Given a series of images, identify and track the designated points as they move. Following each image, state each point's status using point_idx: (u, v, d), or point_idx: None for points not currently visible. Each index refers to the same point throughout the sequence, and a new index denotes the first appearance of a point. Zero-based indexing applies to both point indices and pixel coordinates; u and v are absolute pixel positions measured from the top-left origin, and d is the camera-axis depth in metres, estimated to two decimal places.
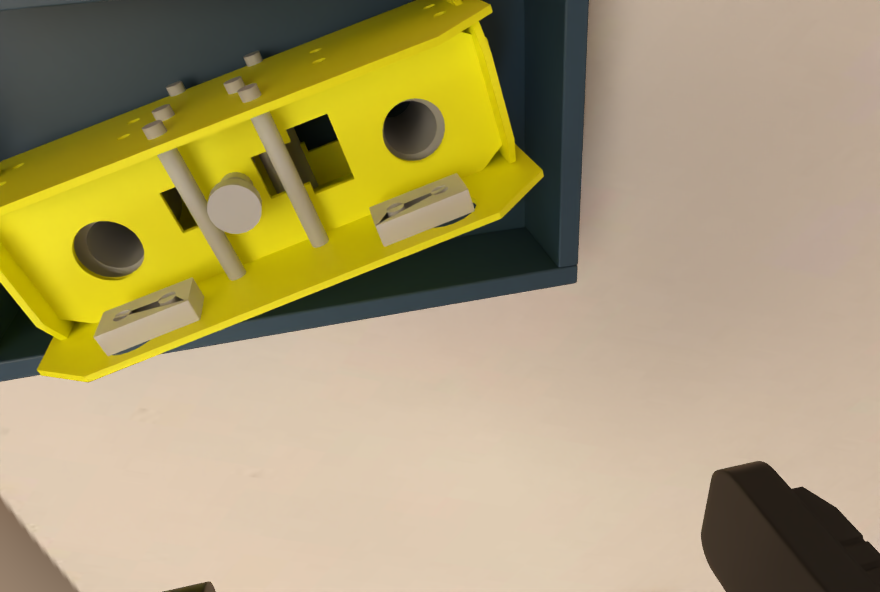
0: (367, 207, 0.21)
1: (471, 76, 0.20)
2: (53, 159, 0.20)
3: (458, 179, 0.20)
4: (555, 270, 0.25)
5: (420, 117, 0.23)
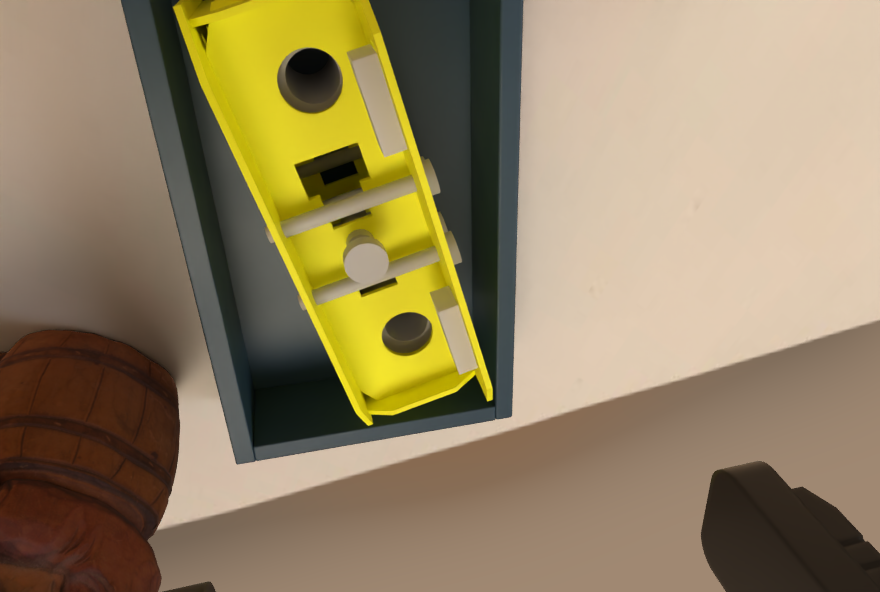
0: None
1: (252, 19, 0.19)
2: None
3: (348, 57, 0.19)
4: None
5: None
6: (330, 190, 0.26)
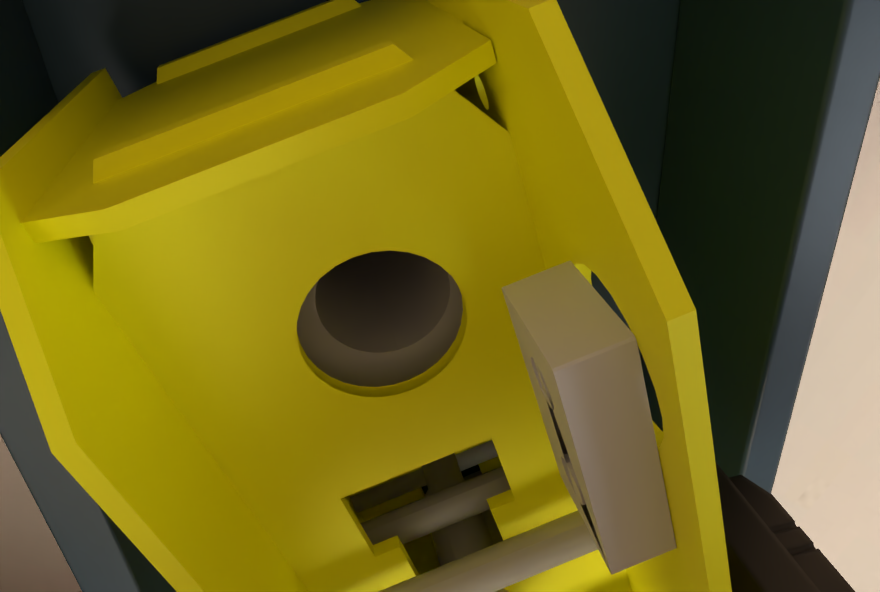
0: None
1: (221, 196, 0.07)
2: None
3: (517, 317, 0.06)
4: None
5: None
6: None
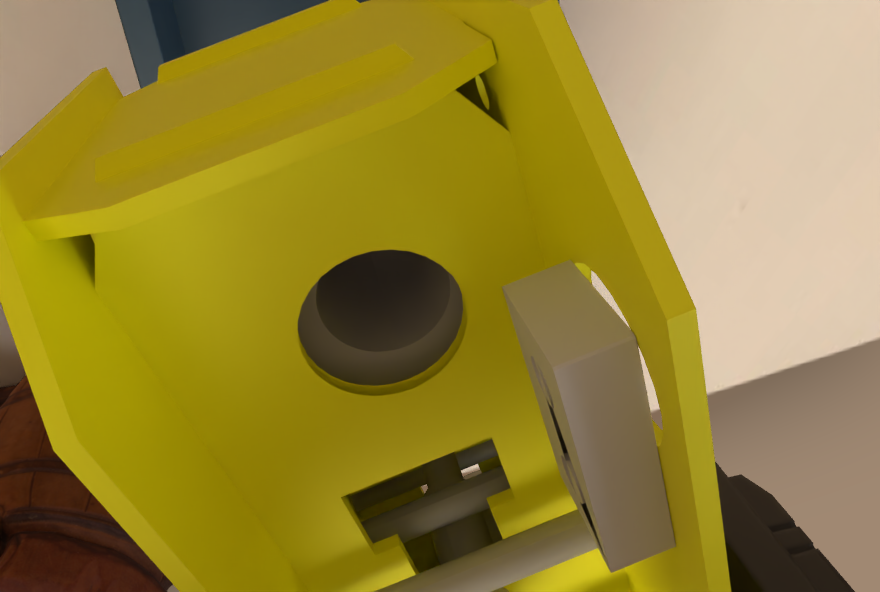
0: None
1: (222, 194, 0.07)
2: None
3: (518, 315, 0.06)
4: None
5: None
6: None
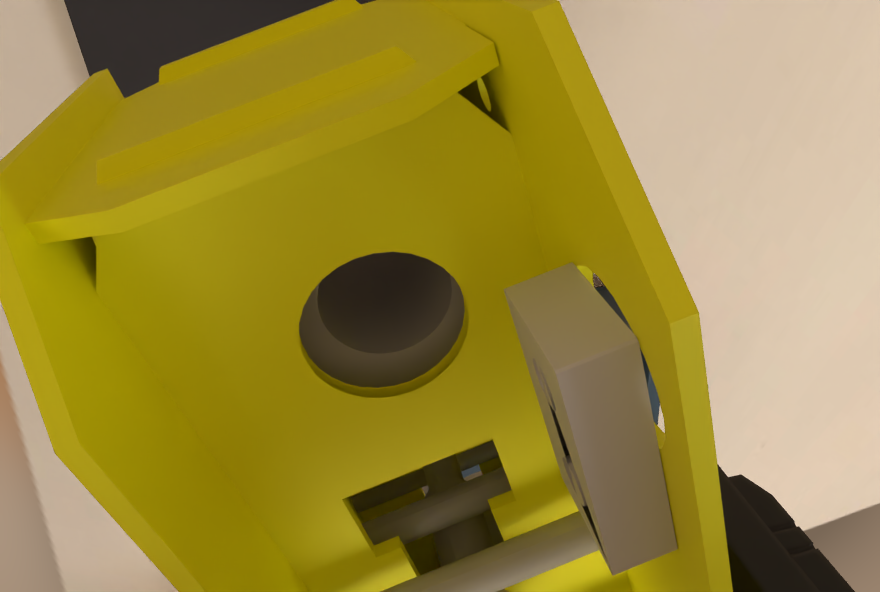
0: None
1: (224, 196, 0.07)
2: None
3: (519, 319, 0.06)
4: None
5: None
6: None
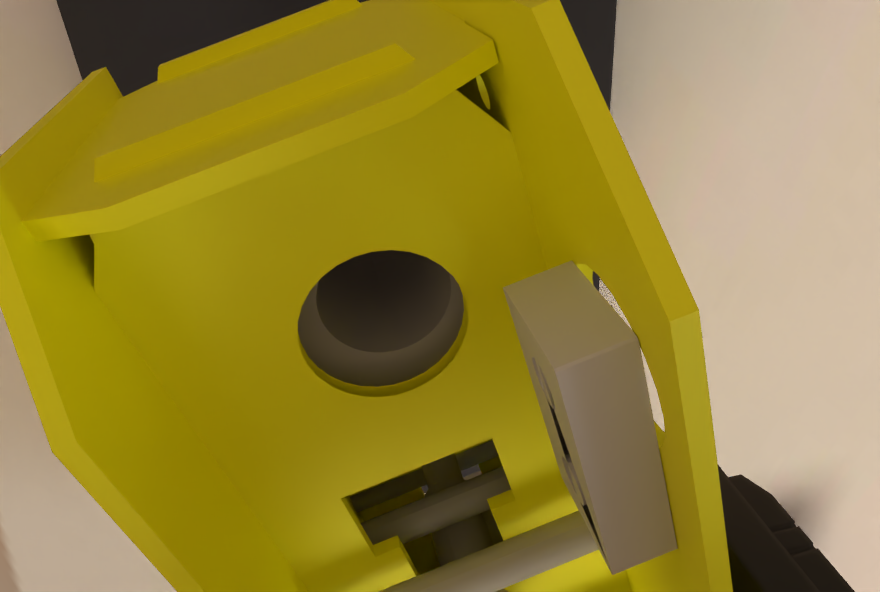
0: None
1: (222, 194, 0.07)
2: None
3: (520, 317, 0.06)
4: None
5: None
6: None
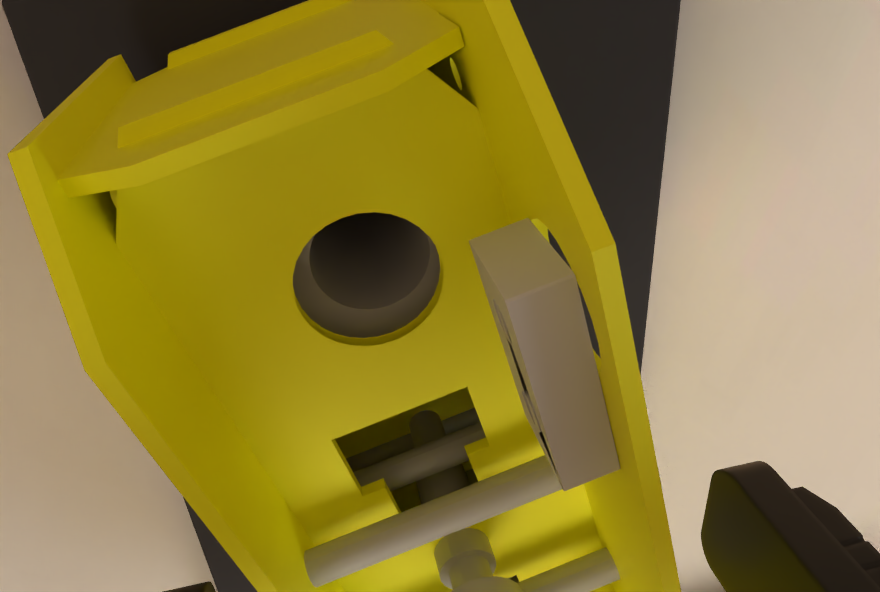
0: None
1: (227, 161, 0.08)
2: None
3: (480, 263, 0.07)
4: None
5: None
6: None
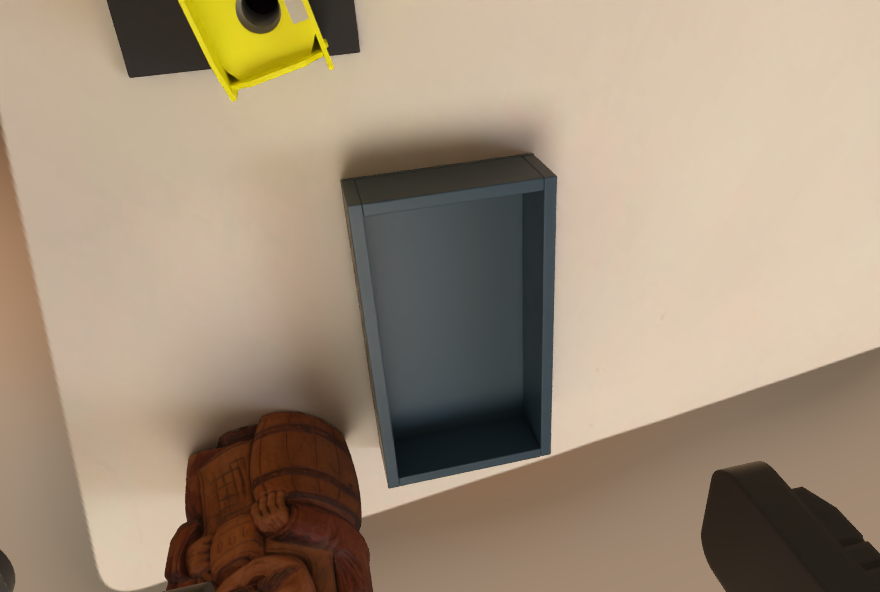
0: None
1: None
2: None
3: None
4: (544, 192, 0.39)
5: None
6: None
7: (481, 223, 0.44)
